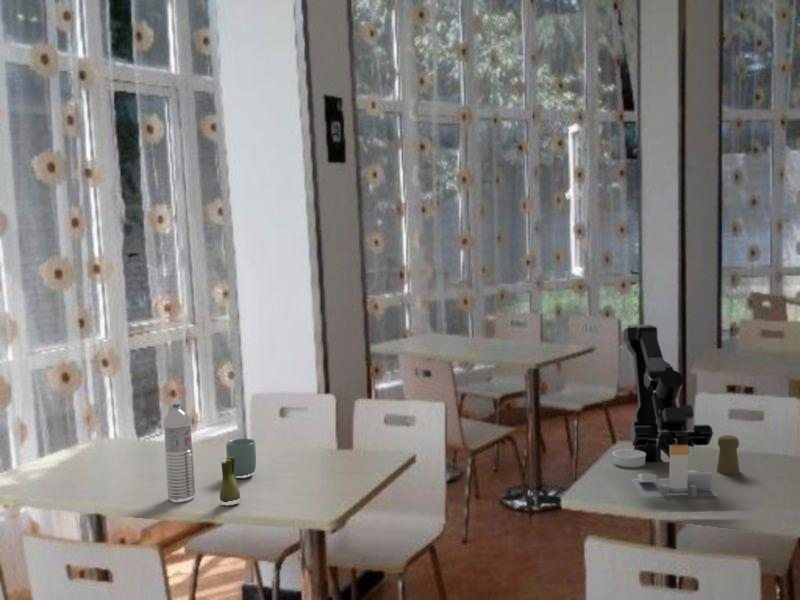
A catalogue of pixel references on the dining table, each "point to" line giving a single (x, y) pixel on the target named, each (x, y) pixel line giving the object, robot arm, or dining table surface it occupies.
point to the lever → (678, 469)
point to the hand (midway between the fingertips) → (677, 465)
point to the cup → (242, 455)
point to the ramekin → (629, 458)
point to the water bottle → (179, 454)
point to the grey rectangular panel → (700, 479)
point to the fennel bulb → (229, 481)
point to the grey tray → (662, 489)
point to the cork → (728, 455)
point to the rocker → (647, 477)
